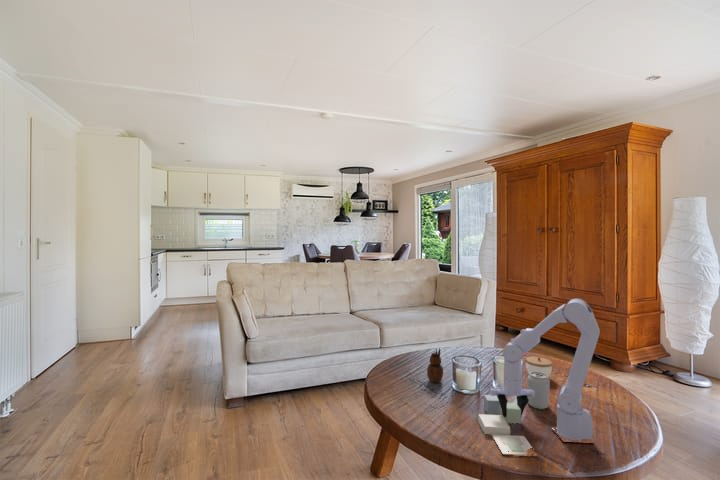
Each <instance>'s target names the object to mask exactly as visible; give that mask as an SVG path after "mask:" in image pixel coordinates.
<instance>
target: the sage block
mask: <svg viewBox="0 0 720 480" xmlns="http://www.w3.org/2000/svg"><path fill="white" fill-rule="evenodd" d="M506 413H507V414H506V417H504V416H503V415H502V416H503V417H504V419H505V420H506V422H507V424H512V423H514V424H515V425H516V423H519V424H518V425H520V424H521V423H522V420H521V419H522V417H521V409H520V408H519V406H518V405H517V402H507V408H506Z"/></svg>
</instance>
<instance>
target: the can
mask: <svg viewBox="0 0 720 480" xmlns="http://www.w3.org/2000/svg"><path fill="white" fill-rule="evenodd" d="M550 382H551V381H550V379H549V377H548V376H547V375H546V374H544V373H541V372H530V374H528V376H527V387H526V389H530V390H533V391H534V392H535V397H531V396H527V398H528V399H529V402H528V403H527V404H529V406H530V407H532V408H534V409H537V408H538V409H537V410H545V408H546V409H547V408H549V407H550V391H551V389H550V385H551V384H550Z"/></svg>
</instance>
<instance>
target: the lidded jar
mask: <svg viewBox="0 0 720 480" xmlns="http://www.w3.org/2000/svg"><path fill="white" fill-rule="evenodd" d="M552 366H553V361H551V360H550V359H548V358H545V357H541V356H528V357H526V358H525V367H526V371H527V373H528V375H530V372H541V373H544V374H546V375H547V376H548V378H549V377H550V376H551V373H552V370H553V369H552V368H553V367H552Z"/></svg>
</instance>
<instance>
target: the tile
mask: <svg viewBox="0 0 720 480" xmlns="http://www.w3.org/2000/svg"><path fill="white" fill-rule="evenodd" d="M491 437H492V439H493V441H494V440H495V441H494V443H495V442H496V443H495V444H497V445H498V447H499V448H498V447H497V448H498V450H499V449H500V450H501V452H502V454H513V455H526V454H527V452H528V451H527V450H528V449H530V448H533V446H532V445H531V444H530V442H529V441H528V439H527V438H526V437H525V436H524V435H511V434H510V435H491ZM497 445H496V446H497ZM500 450H499V451H500ZM508 451H509V452H508ZM526 451H527V452H526ZM501 452H500V453H501ZM502 454H501V455H502Z"/></svg>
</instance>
